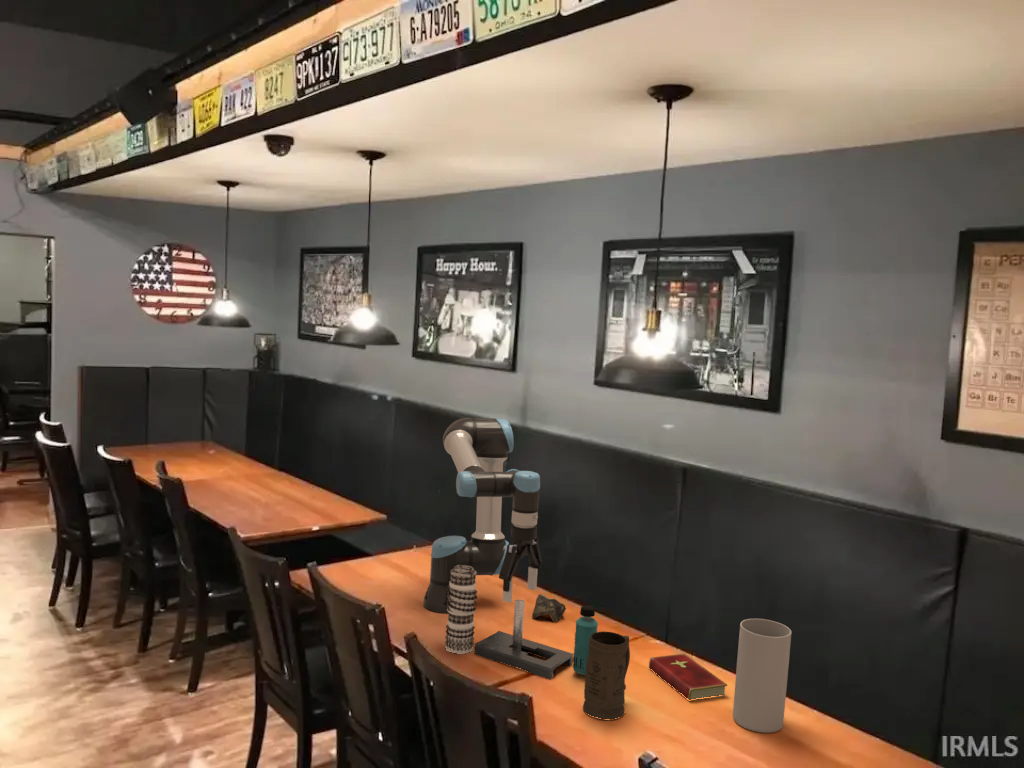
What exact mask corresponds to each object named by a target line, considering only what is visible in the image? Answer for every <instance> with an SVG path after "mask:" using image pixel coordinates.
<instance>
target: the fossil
mask: <svg viewBox="0 0 1024 768" xmlns="http://www.w3.org/2000/svg"><path fill="white" fill-rule="evenodd" d="M566 610H567V608H566V605H565V604H564V603H562V602H560V601H559V600H557V599H556V598H550V597H549V596H548V597H547V596H546V595H544V594H541V593H540V594H538V595H537V597H536V600H535V604H534V608H533V611H532V615H531V616H532V618H533V620H534V619H537V618H538V617H540V616H545V615H546V616H547V615H549V616H550V619H551V620H552V622H553V623H555V622H556V623H558V621H559V620H560V618H562V617H563V616H564V614H565V611H566Z"/></svg>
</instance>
